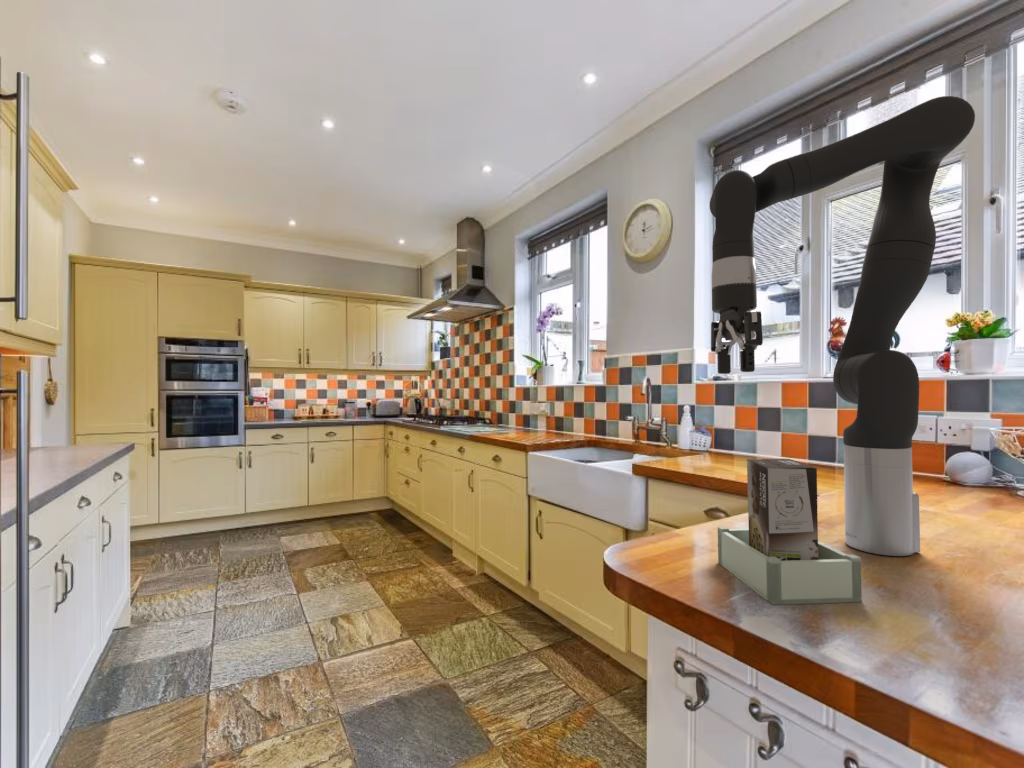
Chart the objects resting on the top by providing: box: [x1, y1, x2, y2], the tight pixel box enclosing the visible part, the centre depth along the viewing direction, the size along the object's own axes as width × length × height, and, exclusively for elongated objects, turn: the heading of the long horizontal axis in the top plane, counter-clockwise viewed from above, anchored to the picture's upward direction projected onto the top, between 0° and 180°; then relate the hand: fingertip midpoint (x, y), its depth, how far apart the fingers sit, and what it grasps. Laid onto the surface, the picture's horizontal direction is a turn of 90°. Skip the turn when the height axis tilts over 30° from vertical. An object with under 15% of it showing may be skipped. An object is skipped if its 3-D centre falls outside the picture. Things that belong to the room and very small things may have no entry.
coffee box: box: [746, 458, 819, 561], centre depth 68 cm, size 9×6×16 cm
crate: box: [717, 526, 863, 606], centre depth 68 cm, size 12×15×6 cm
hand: (735, 372), depth 88 cm, fingers open, 8 cm apart
